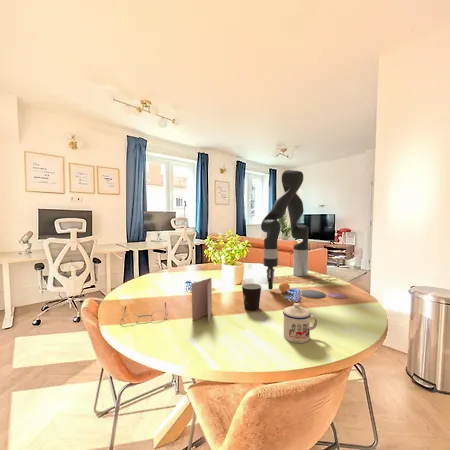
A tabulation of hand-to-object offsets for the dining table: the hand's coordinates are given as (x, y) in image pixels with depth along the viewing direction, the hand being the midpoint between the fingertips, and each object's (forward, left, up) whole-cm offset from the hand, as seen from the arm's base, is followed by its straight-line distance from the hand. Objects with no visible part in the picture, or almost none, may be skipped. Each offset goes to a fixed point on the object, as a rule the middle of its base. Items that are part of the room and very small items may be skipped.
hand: (270, 288), depth 139 cm
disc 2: (0, +33, -1) cm, 33 cm away
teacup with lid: (+48, +13, -2) cm, 50 cm away
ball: (0, +7, +1) cm, 7 cm away
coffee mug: (+24, -7, -2) cm, 25 cm away
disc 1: (0, +21, -1) cm, 21 cm away
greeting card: (+40, -23, -2) cm, 46 cm away
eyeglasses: (+40, -51, -2) cm, 65 cm away
